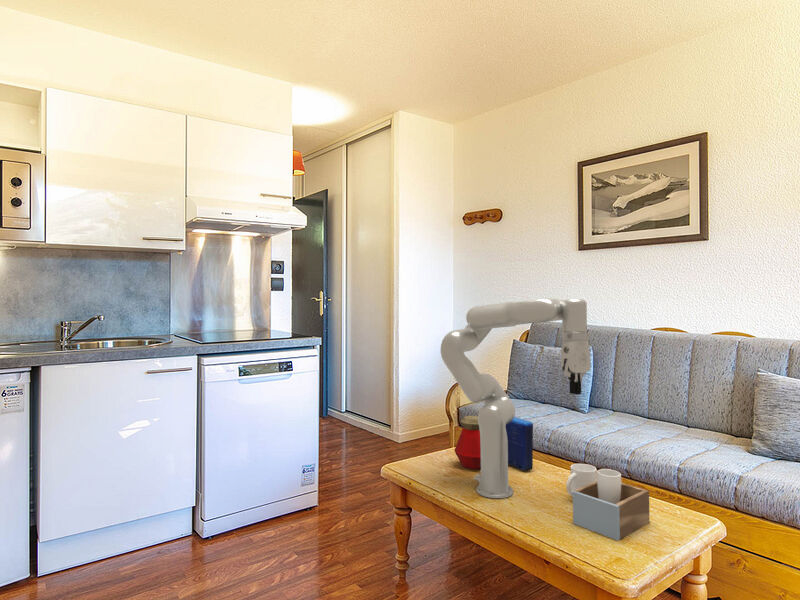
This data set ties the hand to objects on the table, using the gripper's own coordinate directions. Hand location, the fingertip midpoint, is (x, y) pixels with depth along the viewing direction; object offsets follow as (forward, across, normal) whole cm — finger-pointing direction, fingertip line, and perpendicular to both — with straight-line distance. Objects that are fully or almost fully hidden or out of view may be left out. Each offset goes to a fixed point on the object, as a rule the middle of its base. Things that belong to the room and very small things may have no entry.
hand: (575, 393), depth 157 cm
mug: (+37, +8, +4) cm, 38 cm away
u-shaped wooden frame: (+37, 0, -12) cm, 39 cm away
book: (+37, +17, +38) cm, 56 cm away
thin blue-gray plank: (+37, -10, -12) cm, 40 cm away
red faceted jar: (+37, +4, +50) cm, 63 cm away
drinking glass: (+37, -1, -12) cm, 39 cm away
